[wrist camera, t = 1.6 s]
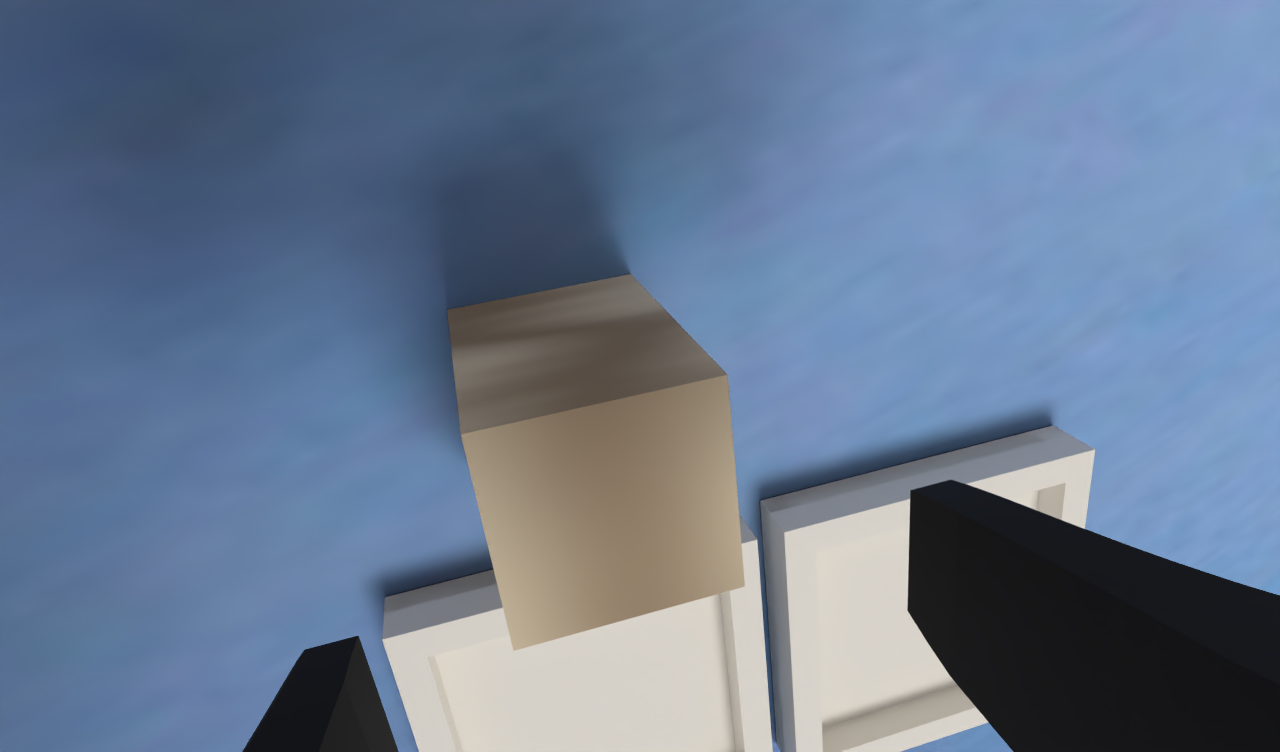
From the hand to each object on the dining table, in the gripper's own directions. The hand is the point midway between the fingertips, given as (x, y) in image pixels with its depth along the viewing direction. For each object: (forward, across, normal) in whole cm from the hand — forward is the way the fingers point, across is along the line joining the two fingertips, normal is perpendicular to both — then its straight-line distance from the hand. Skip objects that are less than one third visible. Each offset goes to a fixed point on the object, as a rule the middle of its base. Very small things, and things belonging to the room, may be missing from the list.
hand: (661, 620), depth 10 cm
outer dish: (+8, -9, +9) cm, 15 cm away
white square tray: (+8, 0, +9) cm, 12 cm away
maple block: (+8, 0, 0) cm, 8 cm away
